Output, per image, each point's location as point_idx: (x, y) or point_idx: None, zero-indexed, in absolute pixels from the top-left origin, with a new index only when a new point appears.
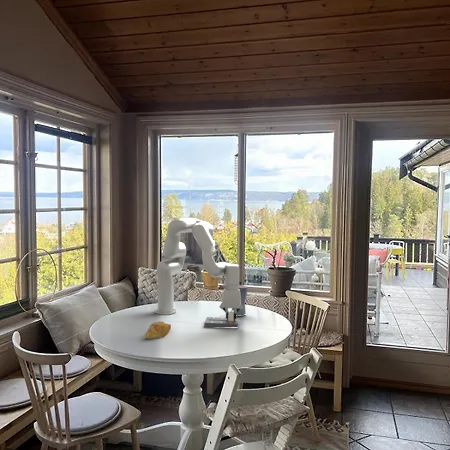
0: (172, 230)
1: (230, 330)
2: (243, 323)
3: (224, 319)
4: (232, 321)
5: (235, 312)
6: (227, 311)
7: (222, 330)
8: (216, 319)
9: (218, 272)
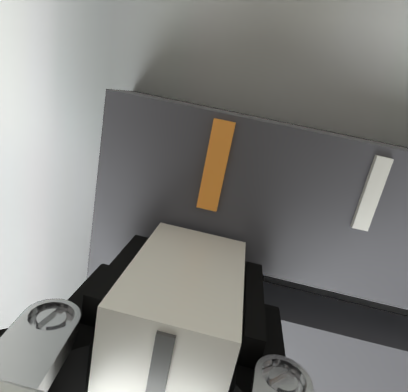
0: None
1: (241, 9)
2: None
3: None
4: None
5: (56, 319)
6: (256, 385)
7: (366, 8)
8: (402, 370)
9: None
